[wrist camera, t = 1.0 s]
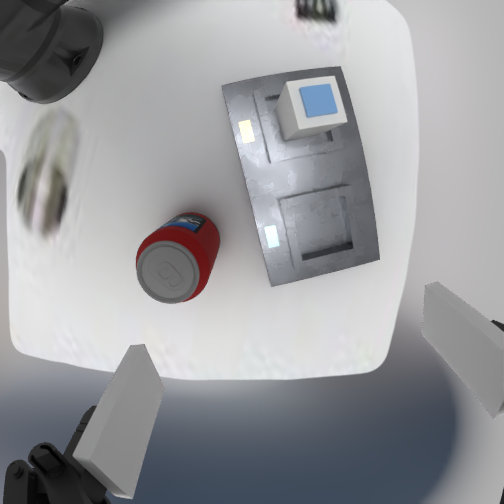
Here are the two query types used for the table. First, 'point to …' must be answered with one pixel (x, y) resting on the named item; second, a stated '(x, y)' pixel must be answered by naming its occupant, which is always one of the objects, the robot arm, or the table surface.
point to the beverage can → (178, 258)
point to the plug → (309, 107)
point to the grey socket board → (303, 183)
